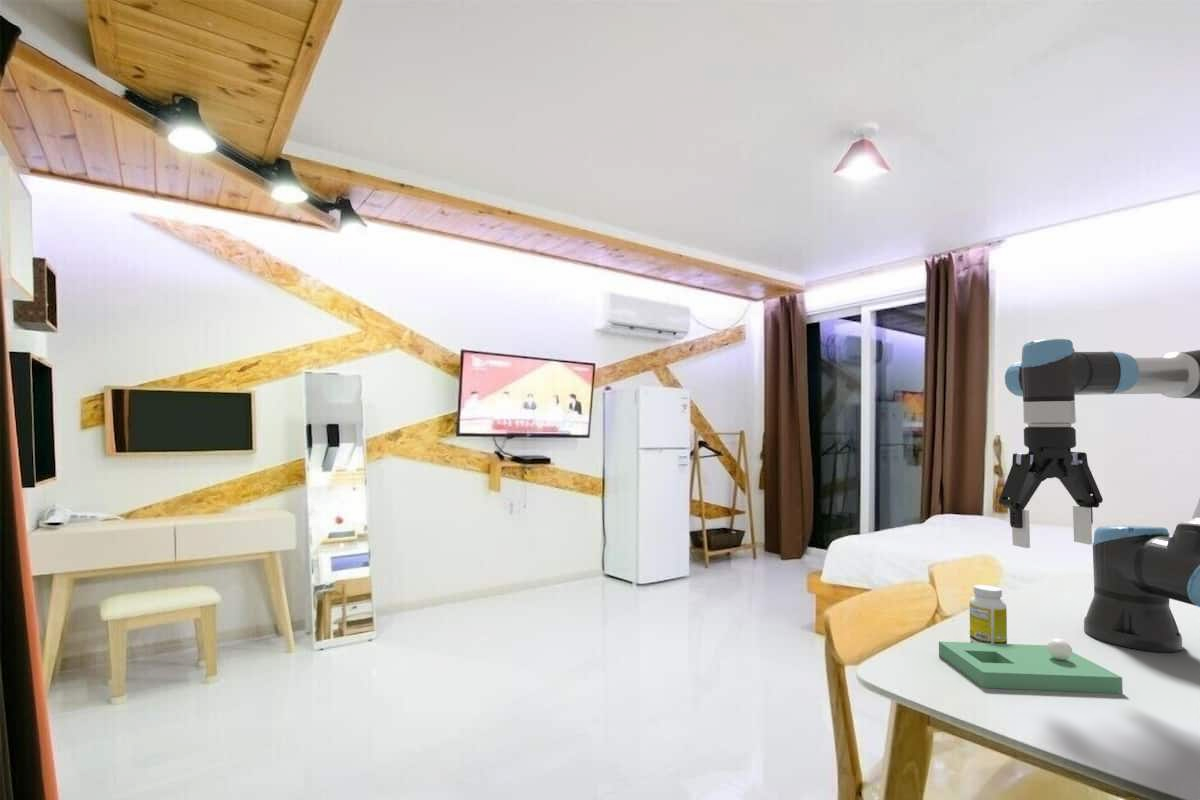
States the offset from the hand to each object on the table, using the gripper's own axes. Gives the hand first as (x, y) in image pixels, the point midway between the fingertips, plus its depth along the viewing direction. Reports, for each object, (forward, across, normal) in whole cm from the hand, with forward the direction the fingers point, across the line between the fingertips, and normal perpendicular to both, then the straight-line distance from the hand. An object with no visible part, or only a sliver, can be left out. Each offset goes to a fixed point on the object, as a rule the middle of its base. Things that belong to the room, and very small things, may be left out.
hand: (1052, 544), depth 108 cm
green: (+22, +7, 0) cm, 23 cm away
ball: (+18, +1, +2) cm, 18 cm away
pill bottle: (+22, +2, -13) cm, 26 cm away
